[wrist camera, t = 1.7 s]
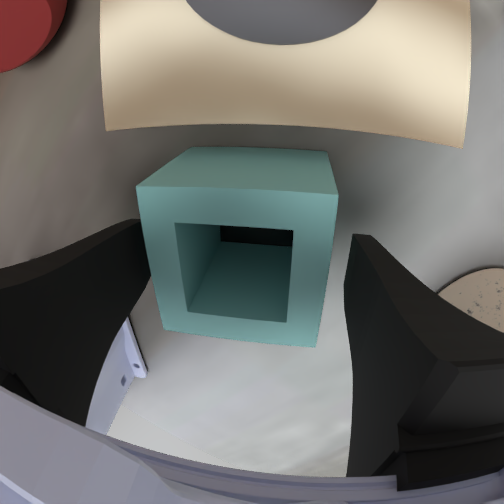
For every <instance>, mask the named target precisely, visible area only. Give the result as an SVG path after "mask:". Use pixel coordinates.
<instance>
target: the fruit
mask: <svg viewBox="0 0 504 504" xmlns="http://www.w3.org/2000/svg"><path fill="white" fill-rule="evenodd" d="M66 6H67V0H0V73H2V72H6V71H10V70H12V69H15V68H17V67H19V66H21V65H23V64H25V63H26V62H28V61H30V60H31V59H32V58H34V57H35V56H36V55H37V54H38V53H40V52H41V51H42V50H43V49H44V48H45V47H46V46H47V44H48V43H49V42H50V41H51V39H52V38H53V37H54V35H55V34H56V32H57V30H58V28H59V27H60V25H61V22H62V20H63V17H64V14H65V10H66Z"/></svg>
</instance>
